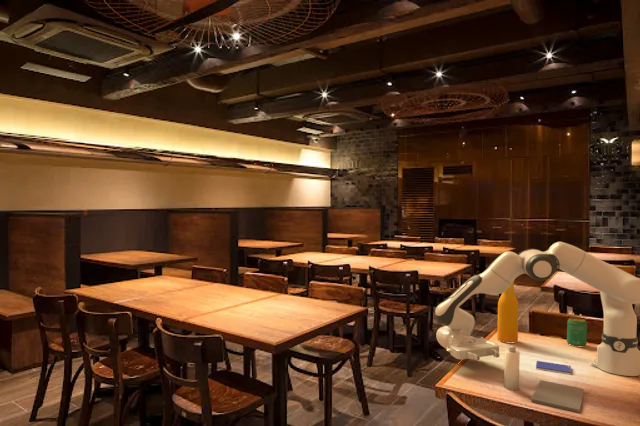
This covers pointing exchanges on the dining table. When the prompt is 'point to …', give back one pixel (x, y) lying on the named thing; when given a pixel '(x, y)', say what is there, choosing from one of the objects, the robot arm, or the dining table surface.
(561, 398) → the slate board
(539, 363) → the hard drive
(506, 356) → the salt mill
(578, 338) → the beverage can
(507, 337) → the beer bottle
